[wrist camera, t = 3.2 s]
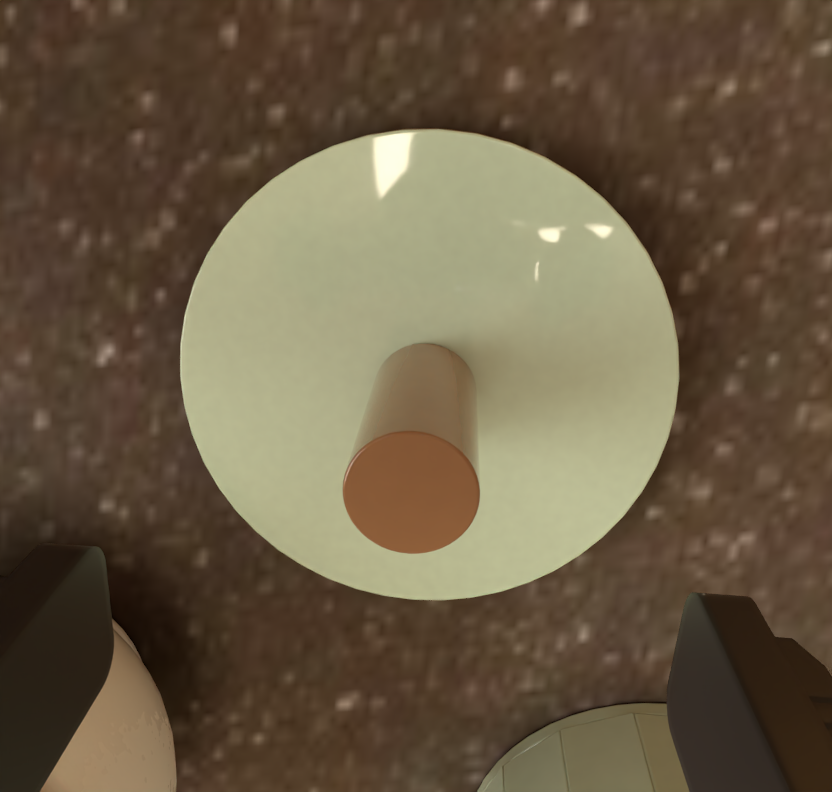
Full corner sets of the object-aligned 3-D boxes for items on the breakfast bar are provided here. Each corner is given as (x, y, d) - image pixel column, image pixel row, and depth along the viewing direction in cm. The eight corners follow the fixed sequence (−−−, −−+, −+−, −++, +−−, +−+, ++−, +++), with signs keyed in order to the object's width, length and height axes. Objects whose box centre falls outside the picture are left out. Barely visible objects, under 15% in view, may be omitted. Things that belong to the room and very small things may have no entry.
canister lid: (709, 140, 19) (832, 165, 12) (630, 592, 23) (691, 777, 17) (180, 112, 19) (40, 122, 13) (205, 560, 24) (111, 729, 17)
